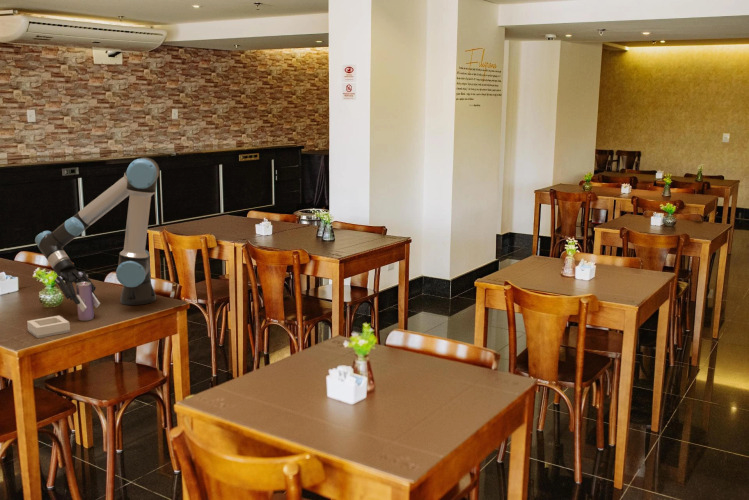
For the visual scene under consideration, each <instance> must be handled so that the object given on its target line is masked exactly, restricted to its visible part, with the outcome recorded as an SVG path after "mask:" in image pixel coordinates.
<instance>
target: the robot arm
mask: <svg viewBox="0 0 749 500" xmlns="http://www.w3.org/2000/svg"><path fill="white" fill-rule="evenodd" d="M123 174H124V175H123V177H121V178H119V179H118V180H117V181H116V182H115V183H114V184H113V185H111V186H110V187H108V188H107V189H106V190H104V191H103V192H102V193H101V194H99V195H98V196H97V197H96V198H95V199H93V200H91V201H90V202H89V203H88V204H87V205H85V206H84V207H83V208H82V209H80V210H79V211H78V212H76V213H75V214H74V215H73V216H72V217H70V218H68V219H66V220H65V221H64V222H63V223H62V224H60V225H59V226H58V227H57V228H56V229H54V230H53V231H50V230H44V231H42V232H40V233H39V234H37V235H36V236H35V239H34V242H35V244H36V245H37V247H38V249H39V251H40V252H41V254H42V255H43V257H44V258H45V259H46V261H47V262H48V263H49V265H50V267H51V268H52V269H53V271H54V273H55V274H56V275H57V276H56V277H55V279H54V282H55V283H56V284H57V286H58V287H59V288H60V291H61V292H62V294H63V296H64V297H65V299H66V300H68V299H69V301H73V302H74V304H75V305H78V306H79V307H80V309H81V310H82V312H83V311H85V309H86V308H87V307H86V305H85V304H84V302H83V301H82V299H81V298H80V297H79V295H76V289H75V287H74V285H73V284H75V285H76V284H77V283H80V282H90V283H91V285H92V297H93V307H95V308H96V309H97V308H99V306H100V305H101V302H100V301H99V300H98V296H97V295H96V293H95V291H96V289H97V288H96V286H95V285H94V283H93V282H92V281H91V279H90V278H89V277H88V276H87V274H86V271H85V270H82V271H79V270H77V269H76V267H75V266H76V265H74V263H73V262H72V260H71V259H70V257H69V256H68V254H67V253H66V251H65V250H64V247H65V246H66V245H67V244H69V243H70V242H71V241H73V240H74V239H75V238H77V237H79V236H80V235H81V234H82V233H83V232H85V230H87V229H88V228H89V227H90V226H91V225H93V224H94V223H96V222H97V221H98V220H99V219H102V217H103V216H104V215H106V214H107V213H108V212H110V211H111V210H112V209H113V208H115V207H116V206H118V205H119V204H120V203H121V202H122V201H124V200H125V199H127V198H129V200H128V207H127V215H126V217H127V218H126V226H125V233H124V234H125V235H124V236H125V237H124V244H123V249H122V251H120V252H119V256H118V263H117V265H118V266H117V268H116V270H115V275H116V279H117V281H118V282H119V283H120V284H121V285H122V286H123V287H122V291H121V294H120V304H122V305H127V306H138V305H147V304H150V303H154V302H155V301H156V300H157V295H156V292H155V290H154V287H153V285H152V280H151V279H152V276H151V264H150V263H151V261H150V257H151V256H150V252H149V251H148V250H147V249H146V246H147V245H146V244H147V236H148V235H147V234H148V227H149V217H150V211H151V210H150V209H151V201H152V197H153V195H155V194H156V189H157V181H158V178H159V175H160V167H159V164H158V163H157V162H156V161H155V160H154V159H153V158H150V157H147V156H146V157H145V156H144V157H139V158H137V159H134V160H133V161H132V162H130V164H129V165H128V167H127V169H126V171H125V172H124V173H123Z"/></svg>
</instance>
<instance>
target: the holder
mask: <svg viewBox="0 0 749 500" xmlns="http://www.w3.org/2000/svg"><path fill="white" fill-rule="evenodd" d="M26 322H27V331H28V333H30V334H31V335H32V336H34V337H35V338H36V339H41V338H45V337H50V336H56V335H61V334H68V333H71V326H70V325H71V323H70V321H69V320H67V319H65V318H64V317H63V316H62V315H54V316H49V317H43V318H36V319H31V320H27V321H26Z"/></svg>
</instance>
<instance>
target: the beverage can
mask: <svg viewBox="0 0 749 500" xmlns="http://www.w3.org/2000/svg"><path fill="white" fill-rule="evenodd" d="M75 293H76V296H77V295H79V297H80V298H81V299H82V301H83V302H84V304H85V305H86V307H87V308H86V309H85V311H83V312H82V310H81V309H80V307H79V306H78V305H77V317H78V318H77V319H78V320H79V321H81V322H87V321H91V320H93V319H94V318H95V313H94V304H93V297H92V285H91V283H90V282H80V283H77V284H75Z"/></svg>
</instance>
